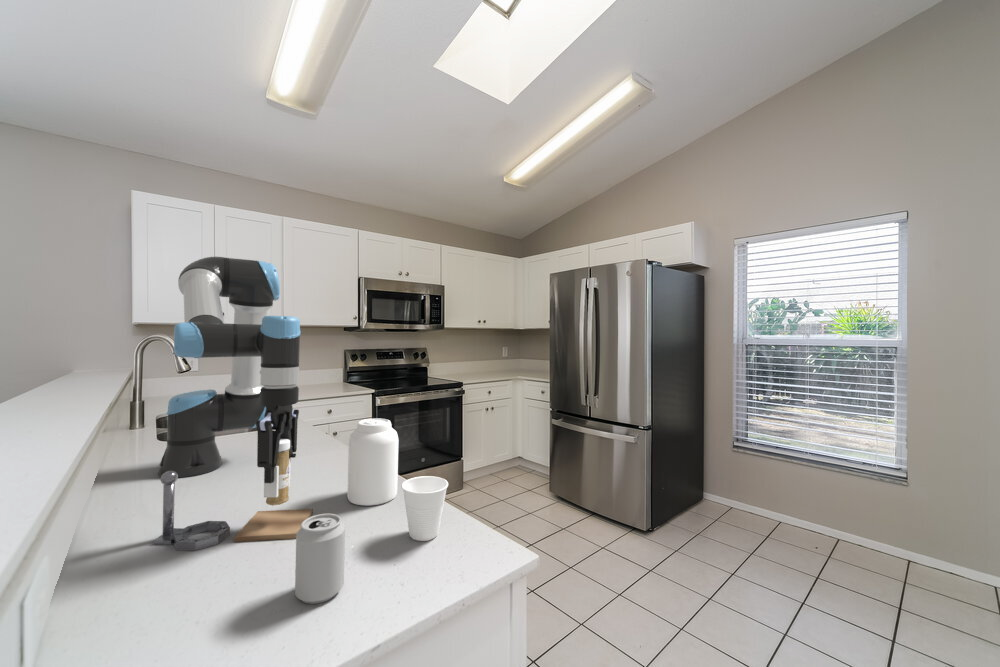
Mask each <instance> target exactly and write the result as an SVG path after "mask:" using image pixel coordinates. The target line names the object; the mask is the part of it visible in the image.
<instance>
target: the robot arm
mask: <svg viewBox="0 0 1000 667" xmlns="http://www.w3.org/2000/svg"><path fill="white" fill-rule="evenodd" d="M277 270H278V269H277V267H276V266H275V265H274V264H273V263H271V262H266V261H261V260H254V259H245V258H232V257H225V256H224V257H223V256H207V257H203V258H199V259H197V260H195V261H193V262H191V263H190V264H187V266H185V267H184V268H183V269H182V271H181V272H180V273H179V277H178V286H177V287H178V290H179V292H180V293H181V294H182V295H183V312H184V313H183V315H184V319H183V320H184V322H178V323H176V324H175V325H174V328H173V329H174V330H173V353H174V355H175V356H177V357H179V358H192V359H193V358H194V359H201V358H232V359H231V375H230V376H231V378H230V383H229V384H228V385H227V386H225V388H224V393H217V391H216V390H215V389H202V390H194V391H189V392H183V393H179V394H177V395H174V396H173V397H171V398H170V399H169V401H168V403H167V412H166V416H167V431H166V433H167V434H166V448H165V450H164V453H163V455H162V456H161V460H160V463H159V464H158V475H159V476H160V477H161V476H162V475H163V474H164V473H165V472H167V471H175V472H176V473H177V474H178V478H187V477H194V476H199V475H203V474H208V473H209V472H213V471H214V470H217V469H219V468H221V466H222V455H221V454H220V451H219V448H218V446H217V443H216V433H218V432H227V431H228V432H229V431H236V430H247V429H249V430H252V429H254V428H256V432H257V444H256V445H257V450H256V451H257V452H256V454H257V459H256V460H257V461H256V462H257V464H256V466H257V468H263V473H264V474H263V498H267V497H278V489H279V466H276V465H277V458H278V450H279V443H280V439H289V440H290V449H289V485H288V487H289V488H288V489H290V488H291V474H292V473H291V472H292V470H291V469H292V468H291V466H292V464H291V463H292V458H293V459H294V458H296V457H297V453H296V452H297V451H298V450H297V449H298V448H297V447H298V446H297V445H298V419H299V414H300V410H299V409H295V408H294V407H293V406H294V405H295V404H297V403H298V402H299V393H300V388H299V387H298V386H297V385H299V383H300V349H301V348H300V344H301V343H300V340H301V333H302V332H301V325H300V324H301V323H300V319H299V318H298V317H297V316H293V315H291V316H290V315H286V316H285V315H267V314H268V313H267V312H268V311H269V310H270V309H271V308H273V304H274V301H278V300H279V299H280V295H281V290H280V289H281V288H280V279H279V274H278V271H277ZM221 298H228V303H229V305H230V306H231V307H232V308H233V309H234V316H233V323H225V319H224V318H225V317H224V314H223V313H224V312H223V308H222V304H221V303H222V302H221ZM293 408H294V409H293Z"/></svg>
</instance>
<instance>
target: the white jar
mask: <svg viewBox="0 0 1000 667" xmlns="http://www.w3.org/2000/svg"><path fill="white" fill-rule="evenodd" d="M399 439H400V438H399V435H398V432H397V431H396V429H394V428H393V427H392V422H391V420H389V419H386V418H381V417H380V418H377V417H375V418H374V417H373V418H365V419H362V420H360V421H358V422H357V425H356V429H355V430H353V432H351V433H350V437H349V438H348V458H347V459H348V462H347V469H348V470H347V499H348V501H349V503H352V504H354V505H358V506H367V507H368V506H378V505H382V504H386V503H388V502H390V501H392V500H393V499H394V498H396V497H397V494H398V478H399V476H398V475H399V442H400V441H399Z"/></svg>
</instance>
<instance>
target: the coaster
mask: <svg viewBox="0 0 1000 667" xmlns="http://www.w3.org/2000/svg"><path fill="white" fill-rule="evenodd" d="M313 513H314V508H302V509H301V508H299V509H298V508H297V509H280V510H279V509H278V510H259V511H258V510H257V512H256V513H255V514H254V515H253V516H252V517H251V518H250V519H249V521H248V522H247V523H246V524H245V525H244V526H243V527H242V528H241V529H240V530H239V531H238V532H237V534H235V536H234V537H233V540H234V541H233V542H234V543H238V542H239V543H240V542H241V543H243V542H257V541H258V542H259V541H272V540H273V541H274V540H290V539H293V540H294V539H296V534H297V532H298V531H299V529H300V528H301V524H302V522H303V521H304V520H306V519H307V518H309V517H312V516H313Z"/></svg>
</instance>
